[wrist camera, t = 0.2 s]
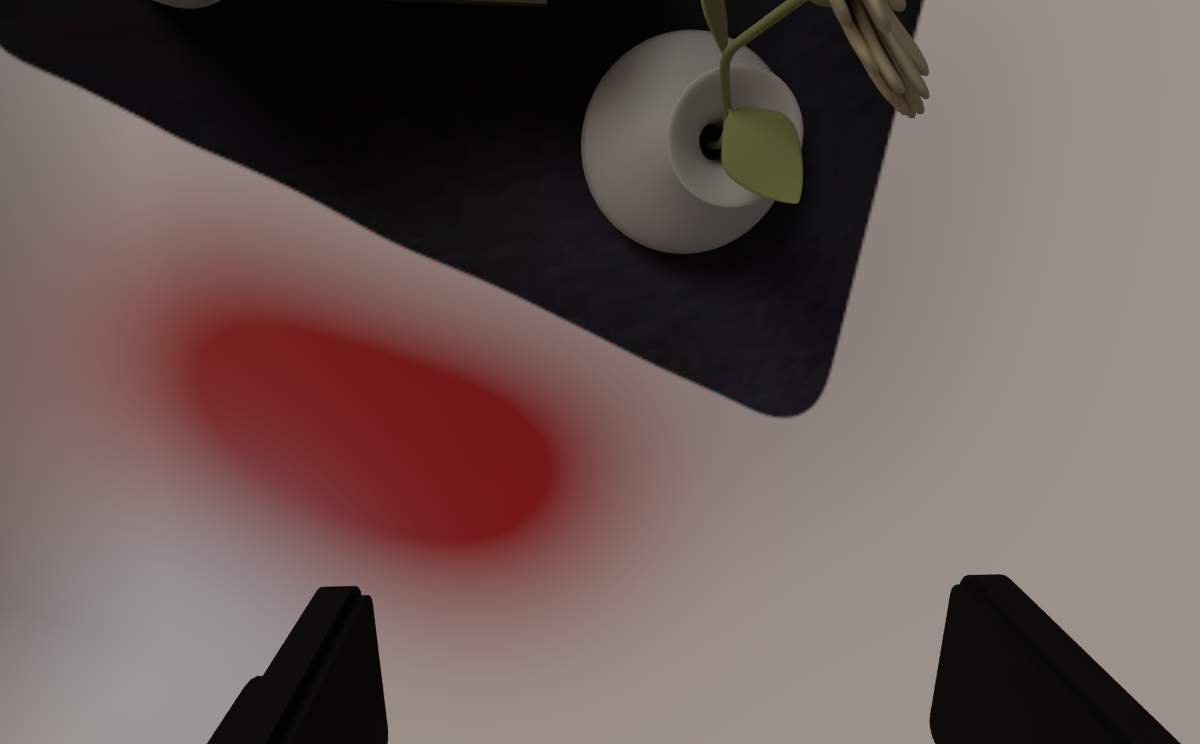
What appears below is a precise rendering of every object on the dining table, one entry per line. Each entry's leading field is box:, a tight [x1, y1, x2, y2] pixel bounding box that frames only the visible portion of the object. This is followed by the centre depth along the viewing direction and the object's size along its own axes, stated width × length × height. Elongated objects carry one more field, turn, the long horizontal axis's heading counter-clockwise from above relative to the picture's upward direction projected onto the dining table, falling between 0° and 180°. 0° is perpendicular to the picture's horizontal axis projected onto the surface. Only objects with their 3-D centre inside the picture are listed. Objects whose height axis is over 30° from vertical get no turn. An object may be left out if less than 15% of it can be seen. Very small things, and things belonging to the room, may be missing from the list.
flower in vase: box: [581, 0, 929, 254], centre depth 26 cm, size 13×11×25 cm
